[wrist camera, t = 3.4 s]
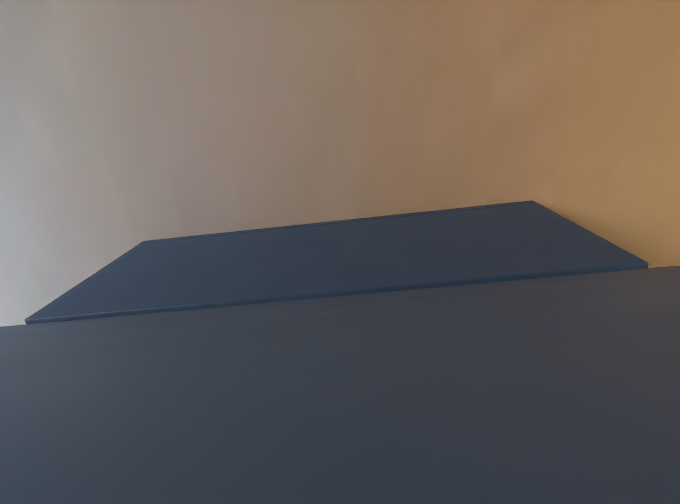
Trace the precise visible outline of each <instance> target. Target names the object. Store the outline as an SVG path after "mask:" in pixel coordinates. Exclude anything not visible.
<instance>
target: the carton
mask: <svg viewBox="0 0 680 504" xmlns="http://www.w3.org/2000/svg"><path fill="white" fill-rule="evenodd" d="M647 268H648V262H646V261H644V260H642V259H640V258H639V257H637V256H635V255H633V254H631V253H629V252H627V251H626V250H624V249H622V248H620V247H618V246H616V245H614V244H613V243H611V242H609V241H607V240H605V239H603V238H601V237H600V236H598V235H596V234H594V233H592V232H590V231H588V230H587V229H585V228H583V227H581V226H579V225H577V224H575V223H574V222H572V221H570V220H568V219H566V218H564V217H562V216H561V215H559V214H557V213H555V212H553V211H551V210H549V209H548V208H546V207H544V206H542V205H540V204H538V203H536V202H535V201H524V202H515V203H505V204H496V205H486V206H476V207H467V208H457V209H448V210H438V211H429V212H419V213H409V214H400V215H390V216H381V217H371V218H361V219H352V220H342V221H333V222H323V223H313V224H304V225H294V226H285V227H275V228H265V229H256V230H246V231H237V232H227V233H217V234H208V235H198V236H189V237H179V238H169V239H160V240H150V241H143V242H141V243H140V244H138V245H137V246H135V247H134V248H132V249H131V250H129V251H128V252H126V253H125V254H123V255H122V256H120V257H119V258H117V259H116V260H114V261H113V262H111V263H110V264H108V265H107V266H105V267H104V268H102V269H101V270H99V271H98V272H96V273H95V274H93V275H92V276H90V277H89V278H87V279H86V280H84V281H83V282H81V283H80V284H78V285H77V286H75V287H73V288H72V289H70V290H69V291H67V292H66V293H64V294H63V295H61V296H60V297H58V298H57V299H55V300H54V301H52V302H51V303H49V304H48V305H46V306H45V307H43V308H42V309H40V310H39V311H37V312H36V313H34V314H33V315H31V316H30V317H28V318H27V319H25V322H26V324H38V323H49V322H60V321H72V320H83V319H94V318H105V317H116V316H127V315H138V314H149V313H160V312H171V311H182V310H193V309H204V308H215V307H227V306H238V305H249V304H260V303H271V302H282V301H293V300H304V299H315V298H326V297H337V296H348V295H359V294H371V293H382V292H393V291H404V290H415V289H426V288H437V287H448V286H459V285H470V284H481V283H492V282H503V281H515V280H526V279H537V278H548V277H559V276H570V275H581V274H592V273H603V272H614V271H625V270H636V269H647Z"/></svg>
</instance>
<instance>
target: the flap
mask: <svg viewBox="0 0 680 504" xmlns="http://www.w3.org/2000/svg"><path fill="white" fill-rule="evenodd" d="M0 504H680V266H670V267H658V268H647V269H636V270H625V271H614V272H603V273H592V274H581V275H570V276H559V277H548V278H537V279H526V280H515V281H503V282H492V283H481V284H470V285H459V286H448V287H437V288H426V289H415V290H404V291H393V292H382V293H371V294H359V295H348V296H337V297H326V298H315V299H304V300H293V301H282V302H271V303H260V304H249V305H238V306H227V307H215V308H204V309H193V310H182V311H171V312H160V313H149V314H138V315H127V316H116V317H105V318H94V319H83V320H72V321H60V322H49V323H38V324H27V325H16V326H5V327H0Z"/></svg>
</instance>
